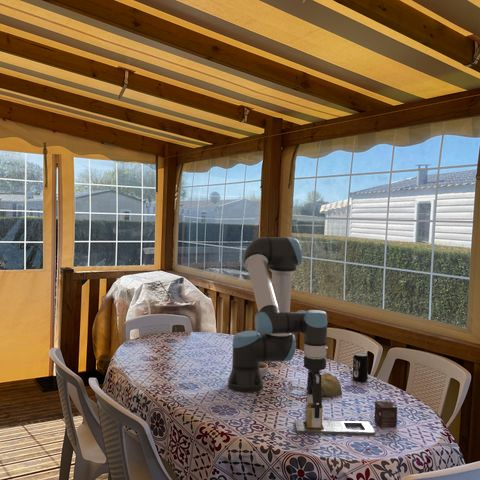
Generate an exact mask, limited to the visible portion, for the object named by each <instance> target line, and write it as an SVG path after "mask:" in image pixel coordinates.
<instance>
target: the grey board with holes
mask: <svg viewBox="0 0 480 480" xmlns="http://www.w3.org/2000/svg"><path fill="white" fill-rule="evenodd" d="M304 424H305V419H304V420H303V419H299V420H297V419H295V420H294V426H296V427H295V431H296V430H297V431H296V434H297V433H322V434H321V435H338V434H345V435H346V436H351V435H353V436H376V431H375V429H374V427H373V426H372V425H371V423H370V422H369V421H347V420H345V421H344V420H343V421H342V420H322V430H318V429H306V427H305V425H304ZM345 425H351V426H350V427H361V428H362V429H347V427H346V426H345ZM345 435H344V436H345Z"/></svg>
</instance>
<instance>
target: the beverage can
mask: <svg viewBox="0 0 480 480" xmlns="http://www.w3.org/2000/svg"><path fill="white" fill-rule="evenodd" d="M368 376H369V357H368V353H366V352H359V351H358V352H354V355H353V357H352V379H353V380H354V381H355V382H357V381H358V383H365V382H367V381H368V378H369V377H368Z"/></svg>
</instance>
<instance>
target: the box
mask: <svg viewBox="0 0 480 480" xmlns="http://www.w3.org/2000/svg"><path fill="white" fill-rule="evenodd" d="M373 419H374V420H373V421H374V423H375V424H376V425H377V426H378V428H380V429H388V428H389V429H390V428H392V429H396V428H397V425H398V424H397V422H398V407H397V405H396V404H395V403H393V402H392V401H390V400H388V401H386V400H384V401H383V400H382V401H381V400H379V401H374V418H373Z"/></svg>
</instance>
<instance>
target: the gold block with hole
mask: <svg viewBox="0 0 480 480" xmlns="http://www.w3.org/2000/svg"><path fill="white" fill-rule="evenodd" d="M311 406H313V403H307V402H305V414H304V415H305V417H304V420H305V425H304V427H305V426H306V427H305V429H318V430H323V428H322V421H323V407H322V408H321V424H320V427H312V408H311Z"/></svg>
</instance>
